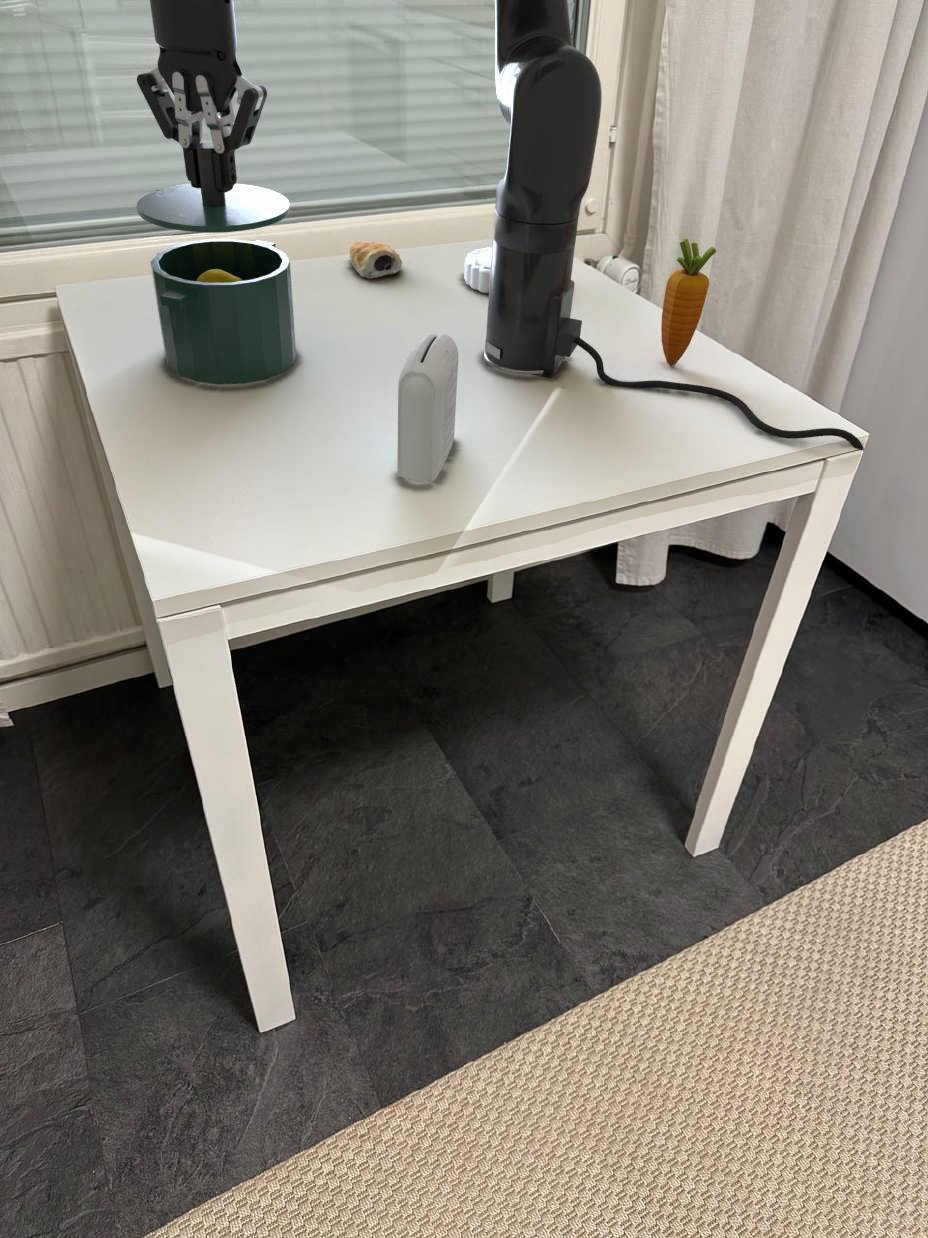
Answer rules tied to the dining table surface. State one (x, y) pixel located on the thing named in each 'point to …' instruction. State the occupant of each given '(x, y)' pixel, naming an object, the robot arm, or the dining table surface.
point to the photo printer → (427, 407)
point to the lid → (212, 203)
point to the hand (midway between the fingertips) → (212, 187)
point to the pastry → (374, 259)
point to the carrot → (684, 301)
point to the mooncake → (478, 269)
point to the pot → (225, 311)
